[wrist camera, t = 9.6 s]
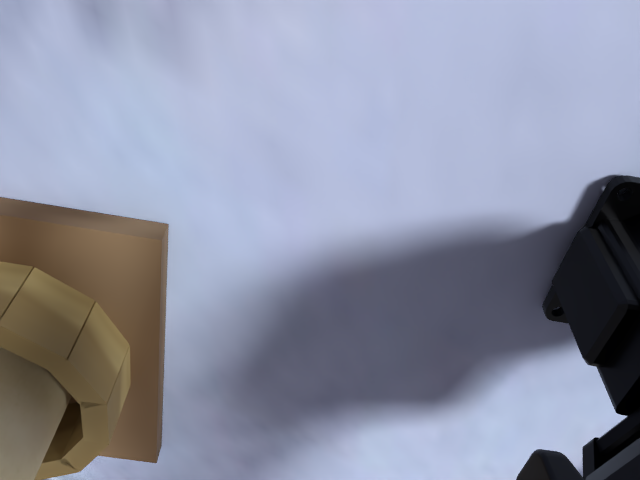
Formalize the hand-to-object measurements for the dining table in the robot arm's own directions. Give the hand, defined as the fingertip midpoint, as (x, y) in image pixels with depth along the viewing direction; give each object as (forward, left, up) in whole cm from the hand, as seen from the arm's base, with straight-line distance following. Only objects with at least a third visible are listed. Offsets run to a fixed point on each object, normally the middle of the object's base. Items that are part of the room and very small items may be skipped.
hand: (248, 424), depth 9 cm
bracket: (+10, +13, -12) cm, 21 cm away
